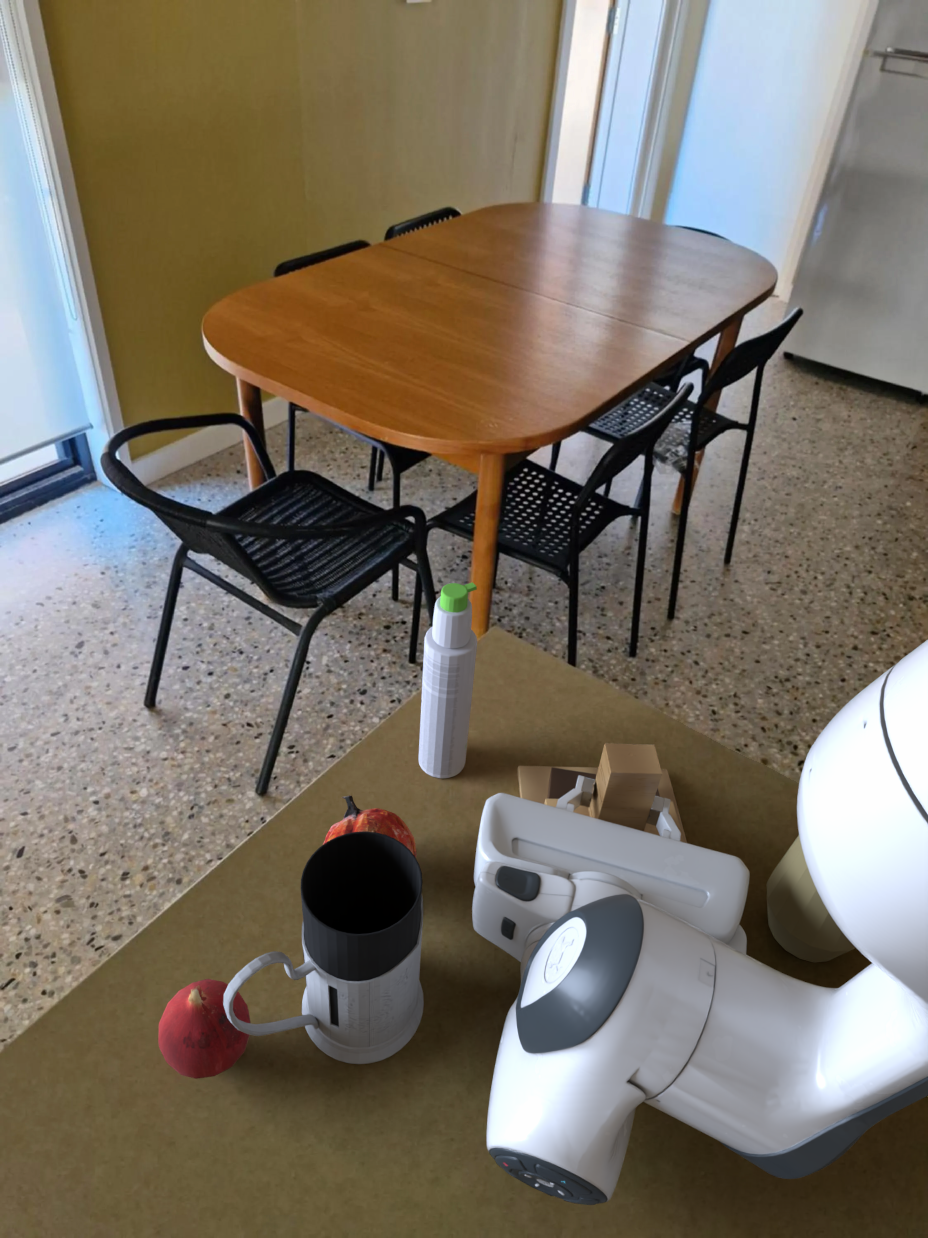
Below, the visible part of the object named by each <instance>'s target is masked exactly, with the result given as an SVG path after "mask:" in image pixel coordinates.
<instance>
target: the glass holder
mask: <svg viewBox="0 0 928 1238" xmlns="http://www.w3.org/2000/svg"><path fill="white" fill-rule="evenodd" d="M423 880H424V879H423V873H422V869H421V866H420V863H419V861H418V859H417V856H416V857H415V856H414V855H413V853H412V852H411V851H410V850H409V849H408V848H407V847H406V846H405V845H404V844H403V843H401V842H399V841H398V840H396V839H395V838H392V837H390V836H387V835H385V834H381V833H377V832H367V831H363V832H352V833H347V834H344V835H341V836H338V837H335V838H333V839H332V840H330V841H328V842H326V843H325V844H323V843H322V845H321V846H319V847H318V848H317V849H316V850H315V851H314V852H313V853H312V855H310V857H309V859H308V860H307V861H306V863H305V866H304V868H303V870H302V873H301V877H300V898H301V909H302V910H301V911H302V923H301V944H302V955H303V964H301V965H300V966H298V967H296V968H294V965H293V962H292V960H291V958H289V956H288V955H286V953H284V952H282V951H276V950H273V951H270V952H269V951H268V952H265V953H263V954H261V955H259V956H258V957H255V958H254V959H252V960H251V961H250V962H248V963H247V964H245V966H244V967H243V968H241V969H240V970H239V971H238V972H237V973H236V974H235V975H234V976H233V978H232V979H231V980H230V981H229V983H227V984H228V986H227V989H226V991H225V993H224V1002H223V1005H224V1009H225V1012H226V1015H227V1018H228V1019H229V1021H230V1022H231V1023H232V1024H233V1025H234V1026H235V1027H236V1028H237V1029H238V1030H239V1031H241V1032H244V1033H246V1034H249V1036H255V1037H262V1036H268V1035H273V1034H277V1033H282V1032H287V1031H290V1030H293V1029H298V1028H301V1027H304V1028H305V1030H306V1033H307V1034H308V1036H309V1038H310V1040H311V1041H312V1042H313V1044H314V1045H315V1046H316V1047H317V1048H318V1049H319V1050H320V1051H321V1052H323V1053H324V1054H326V1056H328V1057H330V1058H332V1059H334V1060H336V1061H339V1062H342V1063H346V1064H353V1065H354V1064H355V1065H365V1064H373V1063H376V1062H380V1061H384V1060H386V1059H388V1058H390V1057H392V1056H393V1055H395V1054H396V1053H398V1052H399V1051H401V1050H402V1049H403V1048H404V1047H405V1046H406V1045H407V1044H408V1043H410V1040H411V1039H412V1038H413V1036H414V1035H415V1034H416V1031H417V1030H418V1028H419V1026H420V1024H421V1020H422V1017H423V1013H424V1005H425V1004H424V1003H425V1002H424V992H423V988H422V984H421V981H420V972H421V971H420V969H421V957H422V955H421V954H422V939H423V938H422V937H423V925H424V897H423V884H424V883H423V882H424V881H423ZM275 964H283V966H284V967H283V968H284V970H285V973H286V974H287V976H288V978H290V979H291V980H293V981H299V980H301V979H304V978H305V989H304V992H303V996H302V1001H301V1015H296V1016H293V1017H289V1018H285V1019H281V1020H275V1021H272V1022H265V1023H252V1022H251V1023H246V1022H243V1021H241V1020H239V1019H238V1018H237V1017H236V1016H235V1014H234V1012H233V1000H234V998H235V996H236V993H237V991H238V992H239V990H240V989H241V988H242V987H243V985H244V984H245V983H246V982H247V981H249V979H251V977H253V976H255V974H256V973H258V972H259V971H261V970H262V969H264V968H266V967H269V966H270V965H275Z"/></svg>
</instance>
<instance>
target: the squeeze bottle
mask: <svg viewBox="0 0 928 1238" xmlns="http://www.w3.org/2000/svg"><path fill="white" fill-rule="evenodd" d="M766 906H767V923H768V927H769V929H770V932H771V934H772V936H773V938H774V939H775V941H776V942H777V943H778V945H780V946H781V948H782V949H784V950H785V951H786V952H787V953H789V954H791V955H792V956H794V957H796V958H797V959H800V960H802V961H807V962H811V963H823V962H829V961H832V960H834V959H836V958H838V957H840V956H842V955H845V954H846V953H848V952H852V951H853V950H854V949H857V948H856V947H855V946H854V945H853V944H852V943H851V942H850V941H849V940H848V938H847V937H846V936H845V935H844V934H843V932H842V931H841V930H840V928H839V927H838V926H837V924H836V923H835V921H834V920H833V918H832V917H831V915H830V913H829V912H828V910H827V908H826V907H825V905H824V903H823V901H822V899H821V897H820V895H819V893H818V891H817V889H816V887H815V885H814V882H813V880H812V877H811V875H810V872H809V870H808V867H807V864H806V861H805V857H804V854H803V850H802V846H801V842H800V837H799V834H798V835H797V837H796V838H795V840H794V841H793V842H792V843H791V845H790V846H789V848H788V849H787V851H786V852H785V854H784V855H783V857H782V858H781V859H780V861H779V862H778V863H777V865H776V867H775V868H774V870H772V872H771V874H770V877H769V878H768V880H767V882H766Z"/></svg>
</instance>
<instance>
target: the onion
mask: <svg viewBox="0 0 928 1238" xmlns="http://www.w3.org/2000/svg"><path fill="white" fill-rule="evenodd" d="M228 984H229V983H226V982H225V981H221V980H216V979H211V978H204V979H201V980H198V981H197V980H196V981H193V982H191V983H190V984H188V985H186V986H185V987H183V988H181V989H180V990H178V991H177V992H176V993H175V994H174V995H173V996H172V998H171V999H170V1000H169V1001H168V1002H167V1004H166V1006H165V1008H164V1010H163V1013H162V1015H161V1018H160V1020H159V1022H158V1038H157V1039H158V1041H157V1043H158V1048H159V1051H160V1052H161V1054H162V1056H163V1058H164V1061H165V1062H166V1064H168V1065H169V1066H170V1067H171V1068H172V1069H173V1070H174V1071H175V1072H177V1073H178V1074H179V1075H180V1076H183V1077H188V1078H191V1079H196V1080H198V1079H205V1078H213V1077H216V1076H217V1075H219V1074H221V1073H223V1072H225V1071H227V1070H229V1069H230V1068H232V1067H233V1066H234V1065H235V1064H236V1062H237V1061H238V1060H239V1059H240V1058H241V1057H242V1055H243V1054H244V1053H245V1052H246V1048H247V1045H248V1042H249V1039H250V1035H249V1034H246V1033H244V1032H241V1031H239V1030H238V1029H237V1028H236V1027H235V1026H234V1025H233V1024H232V1023H231V1022H230V1021H229V1019H228V1018H227V1015H226V1012H225V1009H224V1005H223V1002H224V993H225V991H226V989H227V986H228ZM233 1012H234V1014H235V1016H236V1017H237V1018H238V1019H239V1020H241V1021H243V1022H246V1023H251V1024H252V1022H251V1017H250V1011H249V1007H248V1004H247V1003H246V1001H245V1000H244V998H243V997H242V995H241V993H240V992H239V990H238V991H237V993H236V996H235V998H234V1000H233Z"/></svg>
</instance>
